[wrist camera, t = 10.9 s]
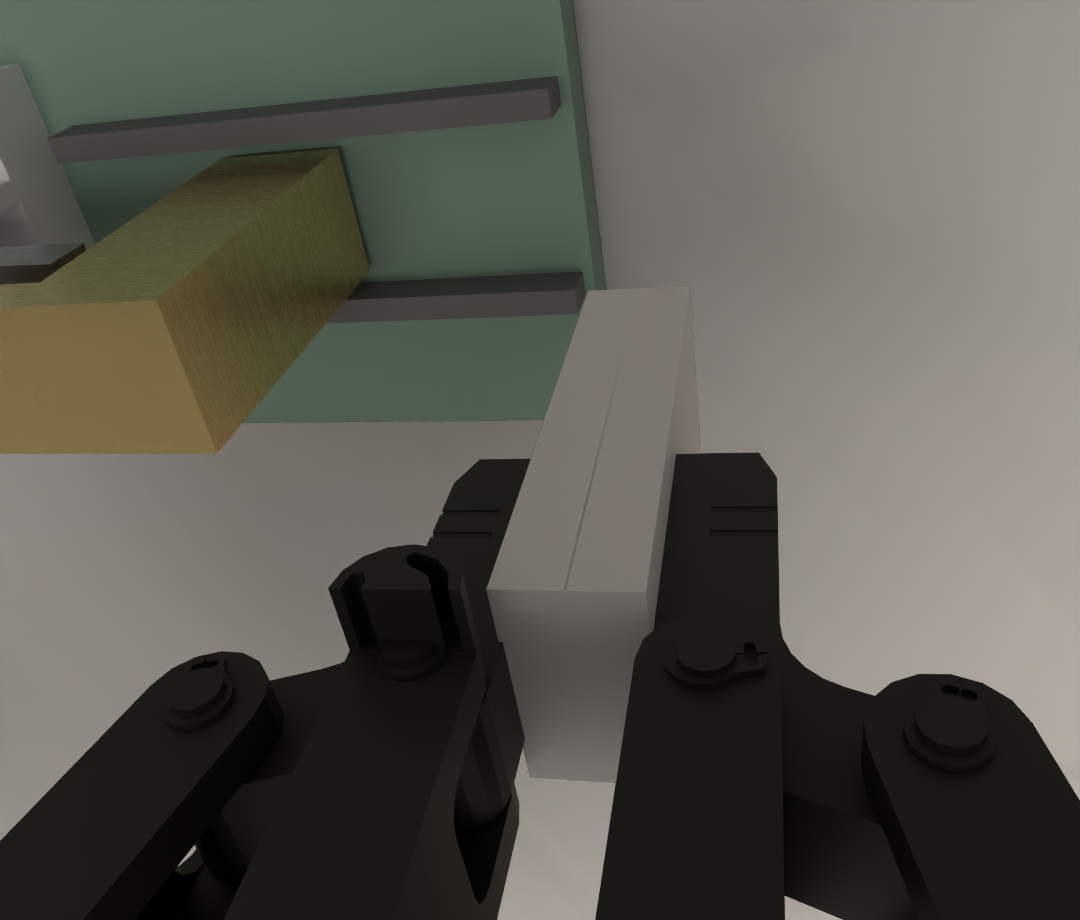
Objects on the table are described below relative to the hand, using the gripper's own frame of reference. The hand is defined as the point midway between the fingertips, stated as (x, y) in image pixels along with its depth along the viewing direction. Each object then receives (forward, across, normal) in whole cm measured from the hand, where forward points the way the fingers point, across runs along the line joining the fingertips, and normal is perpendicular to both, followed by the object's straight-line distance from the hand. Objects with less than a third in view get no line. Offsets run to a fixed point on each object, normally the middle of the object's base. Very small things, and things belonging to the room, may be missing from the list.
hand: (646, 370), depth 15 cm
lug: (+8, -11, 0) cm, 13 cm away
